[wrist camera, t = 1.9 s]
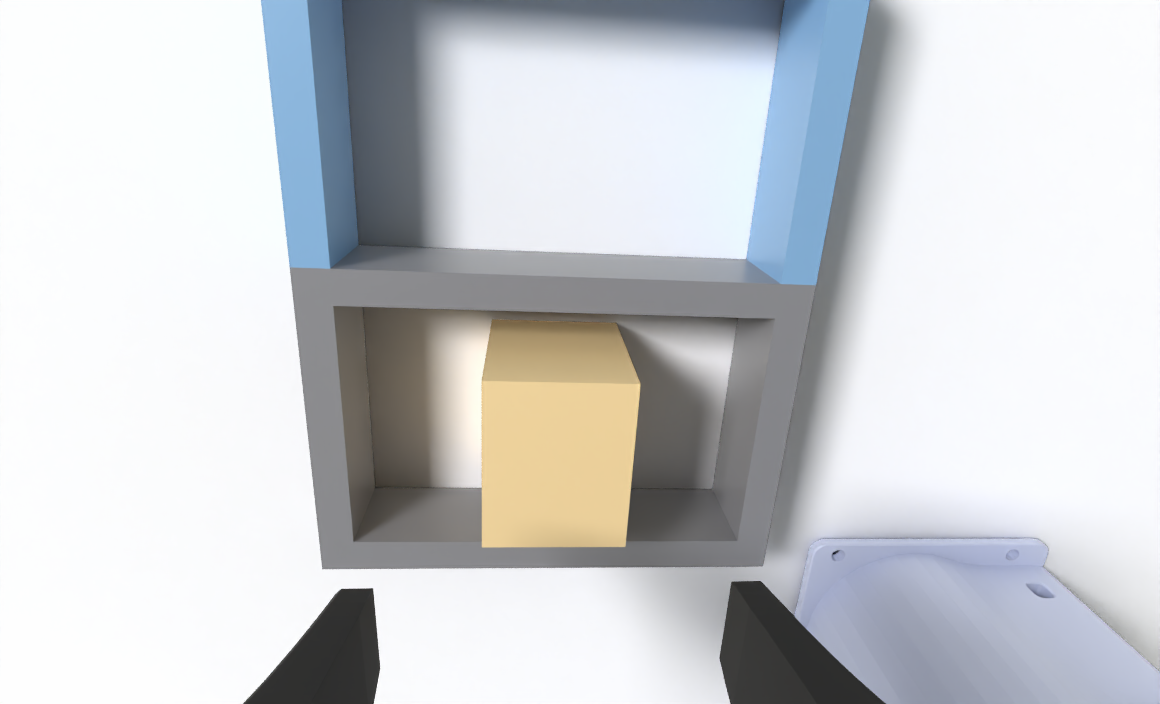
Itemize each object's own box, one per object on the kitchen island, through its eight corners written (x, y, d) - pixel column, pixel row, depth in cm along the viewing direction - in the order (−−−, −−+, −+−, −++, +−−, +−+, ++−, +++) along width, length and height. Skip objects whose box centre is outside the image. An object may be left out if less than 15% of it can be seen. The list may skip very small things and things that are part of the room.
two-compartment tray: (827, -47, 18) (884, -76, 15) (735, 512, 24) (762, 566, 21) (295, -90, 16) (247, -130, 14) (347, 511, 23) (322, 568, 20)
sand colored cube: (615, 322, 21) (640, 383, 16) (605, 456, 23) (625, 546, 18) (491, 318, 21) (481, 380, 16) (491, 455, 22) (481, 547, 18)
